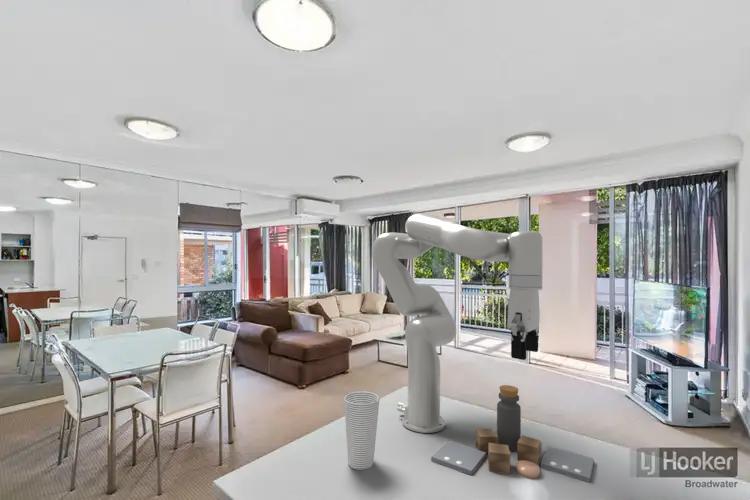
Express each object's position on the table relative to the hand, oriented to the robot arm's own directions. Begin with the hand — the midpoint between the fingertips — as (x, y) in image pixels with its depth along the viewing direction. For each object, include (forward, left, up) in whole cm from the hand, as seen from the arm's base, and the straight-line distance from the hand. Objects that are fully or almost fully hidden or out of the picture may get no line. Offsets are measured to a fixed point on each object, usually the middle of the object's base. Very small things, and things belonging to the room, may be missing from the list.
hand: (525, 354), depth 88 cm
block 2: (-5, -4, -26) cm, 27 cm away
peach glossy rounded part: (+1, -2, -26) cm, 27 cm away
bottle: (-6, +8, -26) cm, 28 cm away
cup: (-32, -22, -26) cm, 47 cm away
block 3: (0, +4, -26) cm, 27 cm away
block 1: (-10, +2, -26) cm, 28 cm away
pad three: (+8, +7, -26) cm, 28 cm away
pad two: (-14, -6, -26) cm, 30 cm away
